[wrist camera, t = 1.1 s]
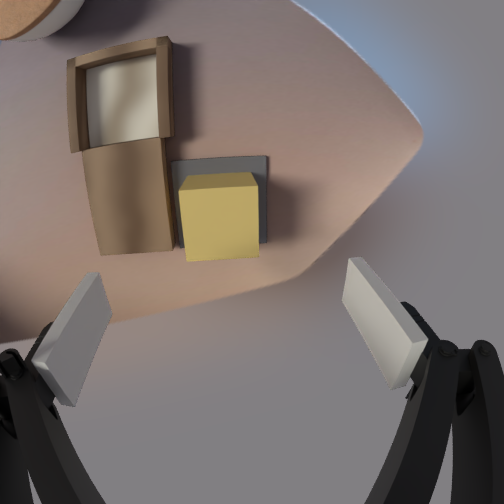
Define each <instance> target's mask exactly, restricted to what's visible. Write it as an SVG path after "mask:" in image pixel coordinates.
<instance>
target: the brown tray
mask: <svg viewBox="0 0 504 504" xmlns="http://www.w3.org/2000/svg"><path fill="white" fill-rule="evenodd" d="M86 86H87V87H86ZM67 112H68V128H69V139H70V149H71V153H75V152H79V151H82V157H83V165H84V173H85V180H86V186H87V192H88V198H89V204H90V209H91V214H92V219H93V224H94V229H95V233H96V238H97V242H98V246H99V250H100V254H101V256H102V255H117V254H132V253H147V252H162V251H173V248H174V246H175V243H176V242H175V235H174V227H173V219H172V211H171V202H170V193H169V183H168V173H167V161H166V149H165V137H171V136H174V135H175V128H174V108H173V75H172V42H171V40H170V39H169V37H168V36H164V37H157V38H151V39H146V40H140V41H135V42H131V43H126V44H122V45H117V46H113V47H109V48H105V49H102V50H98V51H95V52H91V53H88V54H84V55H81V56H78V57H75V58H72V59H69V60H67ZM152 137H156V138H152ZM145 138H148V139H145ZM138 139H141V140H138ZM89 140H90V141H89ZM131 140H134V141H131ZM125 141H128V142H125ZM119 142H121V143H119ZM113 143H116V144H113ZM108 144H110V145H108ZM102 145H104V146H102ZM97 146H99V147H97ZM92 147H94V148H92Z"/></svg>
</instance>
